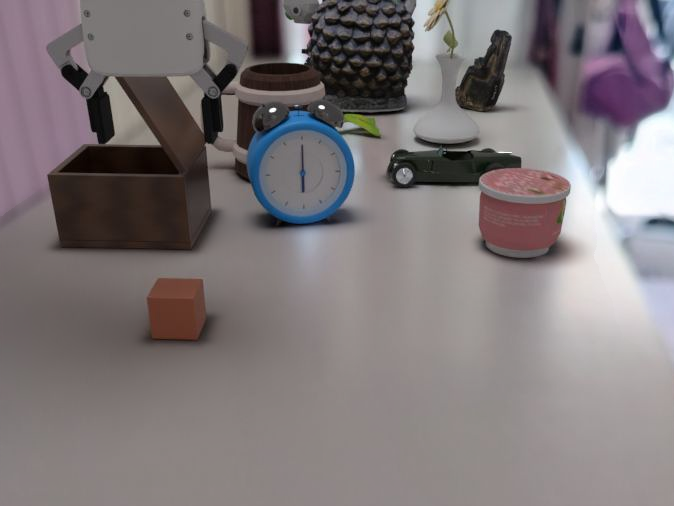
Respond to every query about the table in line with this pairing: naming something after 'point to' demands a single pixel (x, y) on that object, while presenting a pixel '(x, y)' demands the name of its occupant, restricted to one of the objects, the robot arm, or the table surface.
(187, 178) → the chest
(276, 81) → the mug
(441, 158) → the toy car
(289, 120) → the alarm clock
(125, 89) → the lid
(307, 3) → the robot
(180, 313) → the block
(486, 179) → the container
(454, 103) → the flower in vase
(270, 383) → the table surface
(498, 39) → the statue
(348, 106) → the pine cone sculpture
